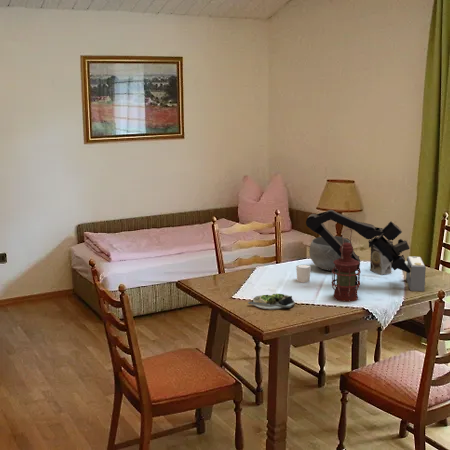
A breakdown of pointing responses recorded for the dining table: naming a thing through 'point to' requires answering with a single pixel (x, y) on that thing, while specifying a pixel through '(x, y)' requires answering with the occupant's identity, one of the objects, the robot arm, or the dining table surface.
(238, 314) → the dining table surface
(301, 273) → the white cup
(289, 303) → the salad plate
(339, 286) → the lantern
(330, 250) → the bowl
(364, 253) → the dining table surface
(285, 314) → the dining table surface
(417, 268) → the console
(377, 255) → the coffee box
